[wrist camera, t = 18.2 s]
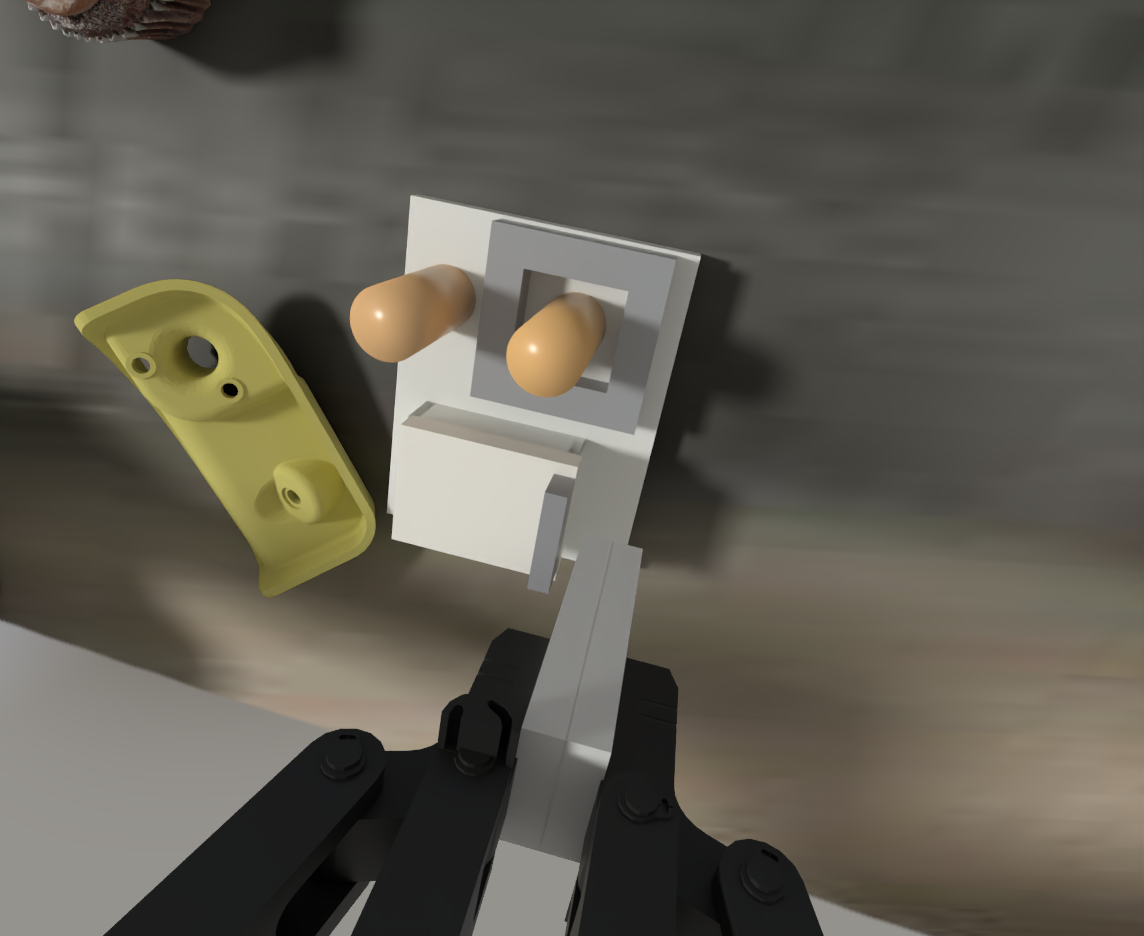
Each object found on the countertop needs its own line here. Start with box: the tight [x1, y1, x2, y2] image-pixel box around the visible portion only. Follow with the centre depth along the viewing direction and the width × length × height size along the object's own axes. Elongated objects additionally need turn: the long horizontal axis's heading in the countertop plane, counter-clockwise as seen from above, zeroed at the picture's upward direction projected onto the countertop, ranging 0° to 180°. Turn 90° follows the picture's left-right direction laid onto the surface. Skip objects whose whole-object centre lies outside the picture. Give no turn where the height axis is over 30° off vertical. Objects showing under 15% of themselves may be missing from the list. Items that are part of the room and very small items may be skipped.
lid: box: [392, 415, 583, 594], centre depth 38 cm, size 10×7×4 cm
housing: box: [350, 195, 701, 561], centre depth 37 cm, size 16×20×10 cm
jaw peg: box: [506, 292, 606, 397], centre depth 34 cm, size 4×4×8 cm
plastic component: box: [74, 279, 376, 598], centre depth 44 cm, size 20×7×10 cm
